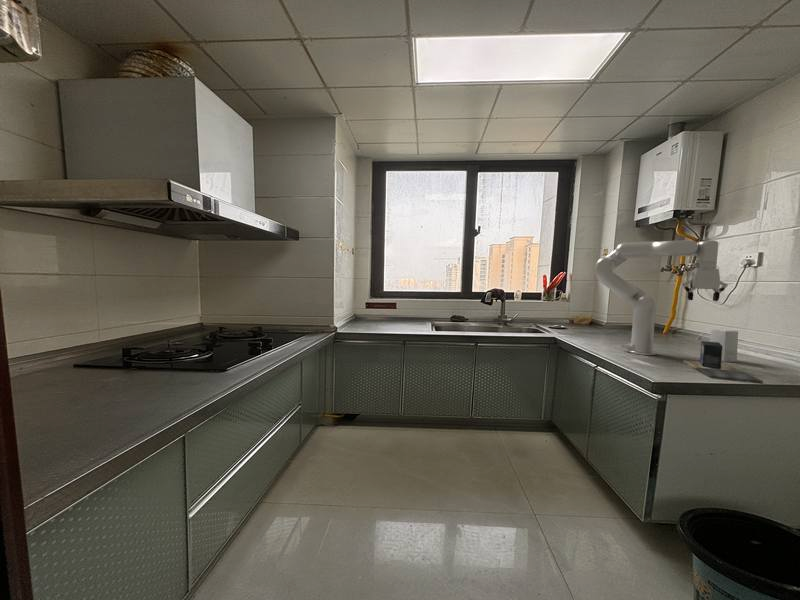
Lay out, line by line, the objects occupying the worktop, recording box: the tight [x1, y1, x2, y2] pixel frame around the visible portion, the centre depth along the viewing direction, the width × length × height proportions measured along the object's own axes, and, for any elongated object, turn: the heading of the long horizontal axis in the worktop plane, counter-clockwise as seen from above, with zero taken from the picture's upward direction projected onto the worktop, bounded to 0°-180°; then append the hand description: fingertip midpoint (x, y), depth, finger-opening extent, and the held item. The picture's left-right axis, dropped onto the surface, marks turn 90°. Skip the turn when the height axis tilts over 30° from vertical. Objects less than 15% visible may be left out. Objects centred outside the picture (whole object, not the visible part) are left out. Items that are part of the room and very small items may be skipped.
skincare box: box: [709, 328, 739, 363], centre depth 161 cm, size 8×7×16 cm
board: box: [682, 359, 763, 383], centre depth 141 cm, size 16×26×1 cm, turn 157°
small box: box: [699, 340, 723, 369], centre depth 147 cm, size 11×6×10 cm, turn 142°
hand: (702, 300), depth 158 cm, fingers open, 9 cm apart
